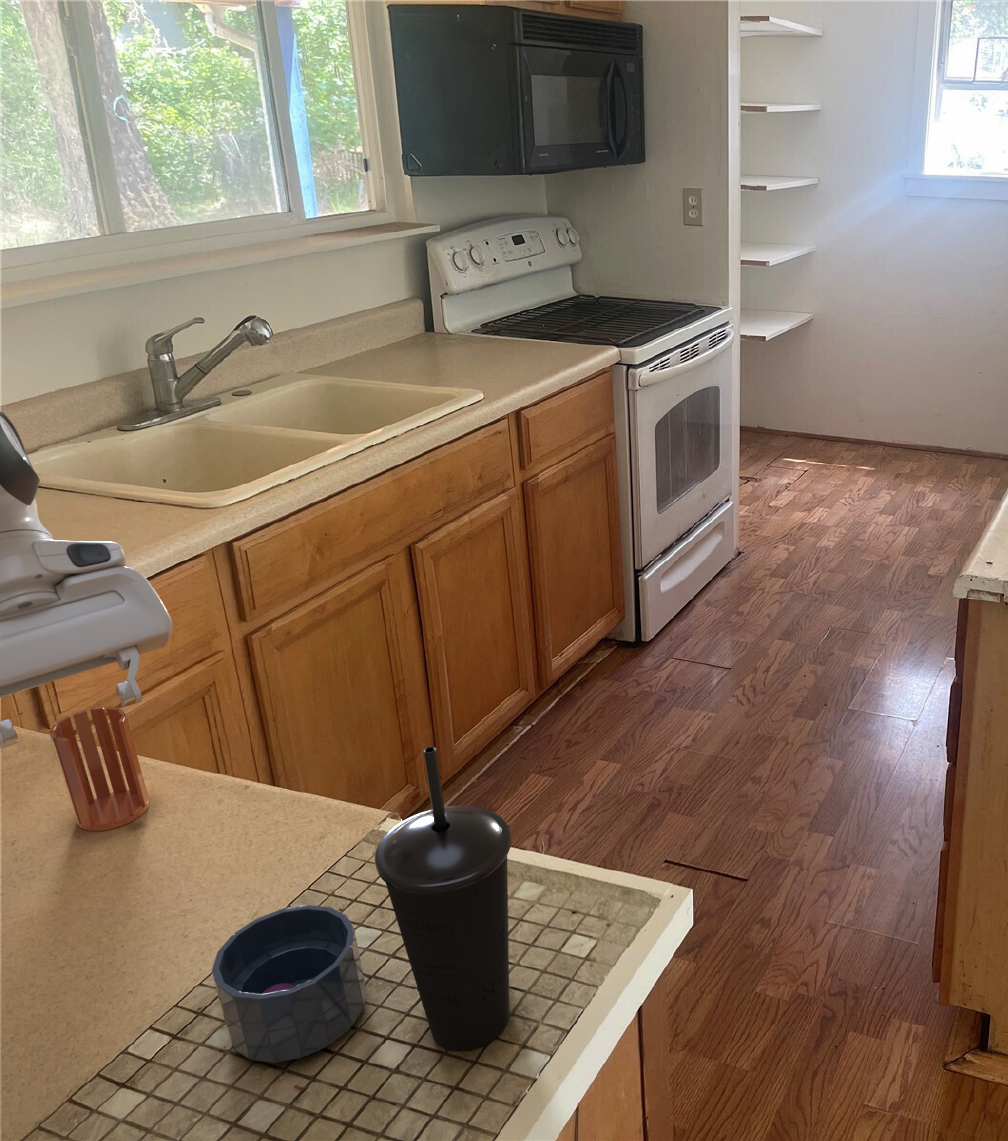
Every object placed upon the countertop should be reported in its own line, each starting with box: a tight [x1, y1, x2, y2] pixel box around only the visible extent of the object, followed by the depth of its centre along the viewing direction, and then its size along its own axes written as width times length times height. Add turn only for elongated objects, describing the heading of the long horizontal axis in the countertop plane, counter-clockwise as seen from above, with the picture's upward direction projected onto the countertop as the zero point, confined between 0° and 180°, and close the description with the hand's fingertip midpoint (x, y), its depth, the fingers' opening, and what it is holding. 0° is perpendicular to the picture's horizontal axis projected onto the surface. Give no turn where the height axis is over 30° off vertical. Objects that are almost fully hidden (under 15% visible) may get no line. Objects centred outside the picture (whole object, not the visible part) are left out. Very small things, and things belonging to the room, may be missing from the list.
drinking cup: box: [374, 746, 512, 1052], centre depth 63 cm, size 8×8×20 cm
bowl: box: [211, 904, 367, 1064], centre depth 67 cm, size 8×8×6 cm
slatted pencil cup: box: [49, 706, 150, 832], centre depth 87 cm, size 5×5×8 cm
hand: (72, 722), depth 91 cm, fingers open, 8 cm apart
